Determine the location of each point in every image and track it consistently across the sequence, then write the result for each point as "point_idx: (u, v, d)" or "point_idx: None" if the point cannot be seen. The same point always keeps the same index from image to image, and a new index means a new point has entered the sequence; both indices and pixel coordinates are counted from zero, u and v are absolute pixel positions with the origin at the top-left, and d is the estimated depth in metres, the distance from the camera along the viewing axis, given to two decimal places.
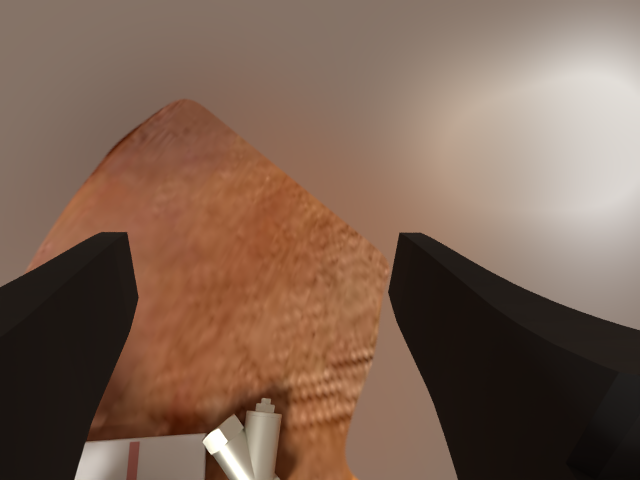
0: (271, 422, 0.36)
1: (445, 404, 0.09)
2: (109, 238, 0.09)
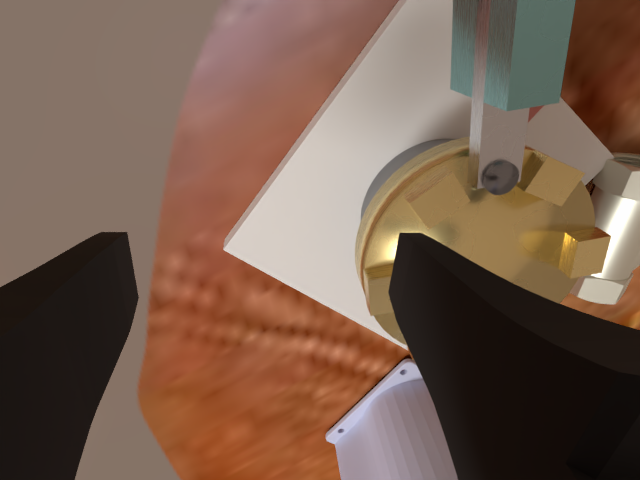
0: None
1: (445, 404, 0.09)
2: (109, 238, 0.09)
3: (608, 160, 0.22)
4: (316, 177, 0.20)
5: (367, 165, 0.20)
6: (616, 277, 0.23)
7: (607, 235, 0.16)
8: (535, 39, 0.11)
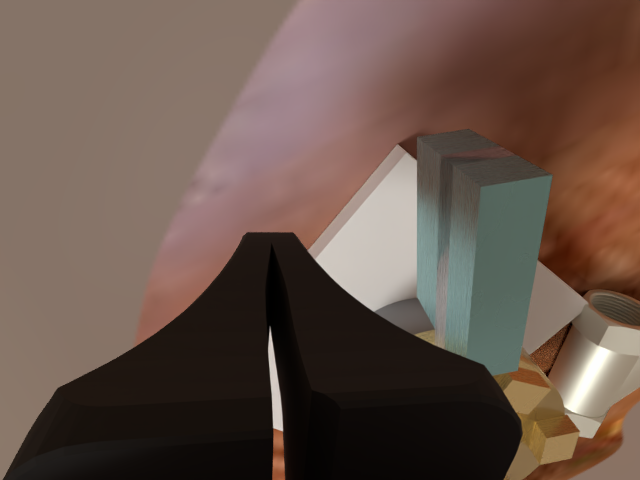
0: None
1: (283, 415, 0.08)
2: (263, 238, 0.10)
3: (586, 305, 0.21)
4: None
5: None
6: (594, 414, 0.23)
7: (576, 430, 0.16)
8: (490, 329, 0.11)
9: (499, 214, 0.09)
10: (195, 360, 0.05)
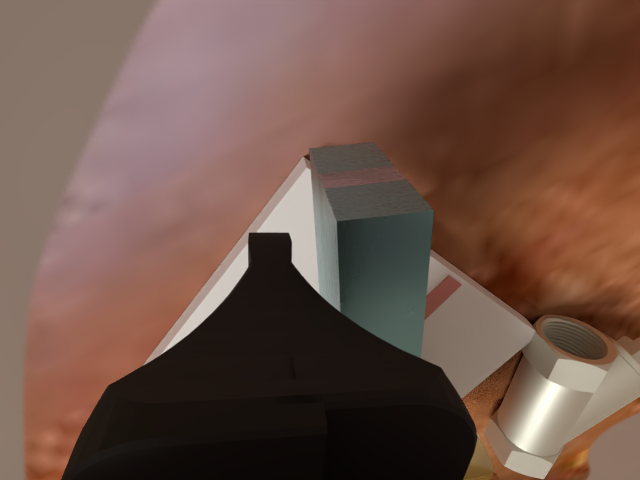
0: None
1: None
2: (283, 238, 0.10)
3: (536, 333, 0.19)
4: None
5: None
6: (545, 454, 0.20)
7: None
8: None
9: (366, 257, 0.07)
10: (235, 358, 0.05)
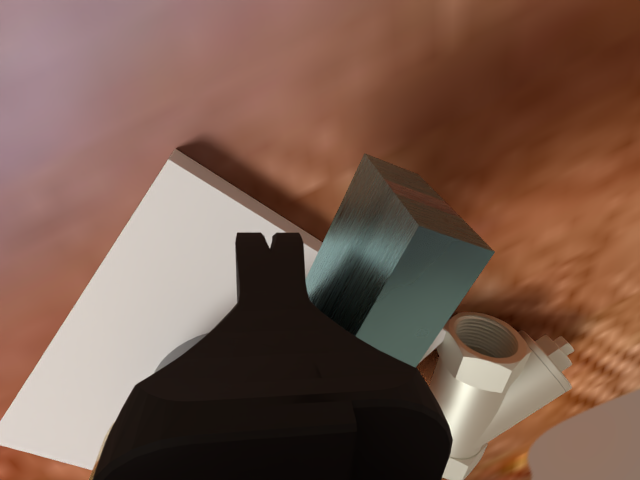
0: (557, 396, 0.19)
1: None
2: (294, 238, 0.10)
3: (447, 330, 0.18)
4: (81, 371, 0.17)
5: (144, 357, 0.17)
6: (460, 456, 0.20)
7: None
8: None
9: (421, 269, 0.07)
10: (257, 358, 0.05)
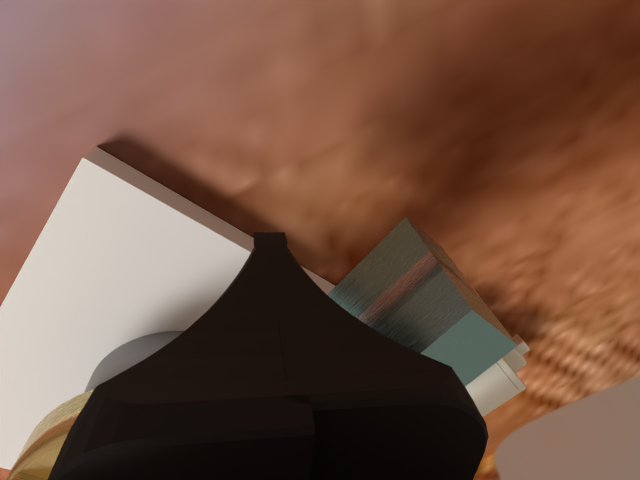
0: (512, 396, 0.19)
1: None
2: (278, 238, 0.10)
3: None
4: (14, 376, 0.16)
5: (78, 361, 0.16)
6: None
7: None
8: None
9: (457, 345, 0.08)
10: (226, 359, 0.05)
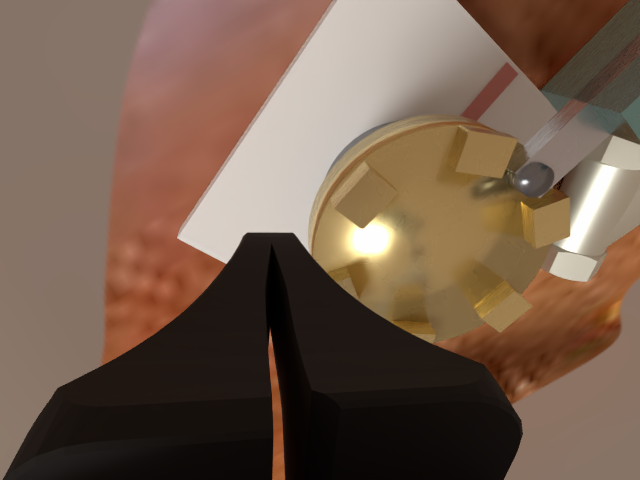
0: None
1: (283, 415, 0.08)
2: (263, 238, 0.10)
3: None
4: (270, 161, 0.19)
5: (325, 148, 0.19)
6: (590, 252, 0.22)
7: None
8: None
9: None
10: (194, 360, 0.05)
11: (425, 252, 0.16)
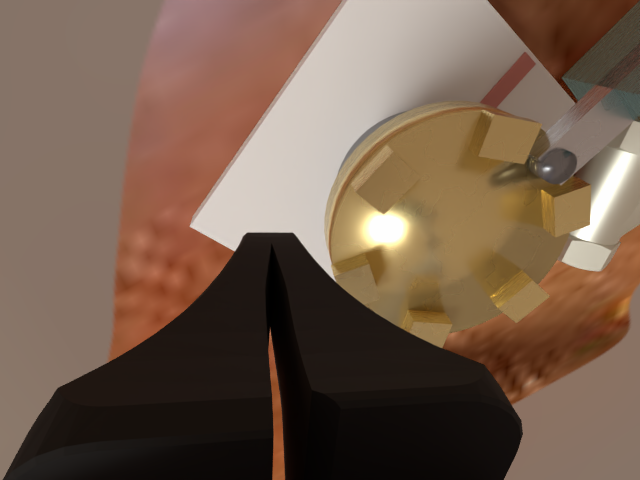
0: None
1: (283, 415, 0.08)
2: (263, 238, 0.10)
3: None
4: (286, 149, 0.19)
5: (340, 137, 0.19)
6: (604, 241, 0.21)
7: (547, 294, 0.17)
8: None
9: None
10: (195, 360, 0.05)
11: (444, 240, 0.16)
